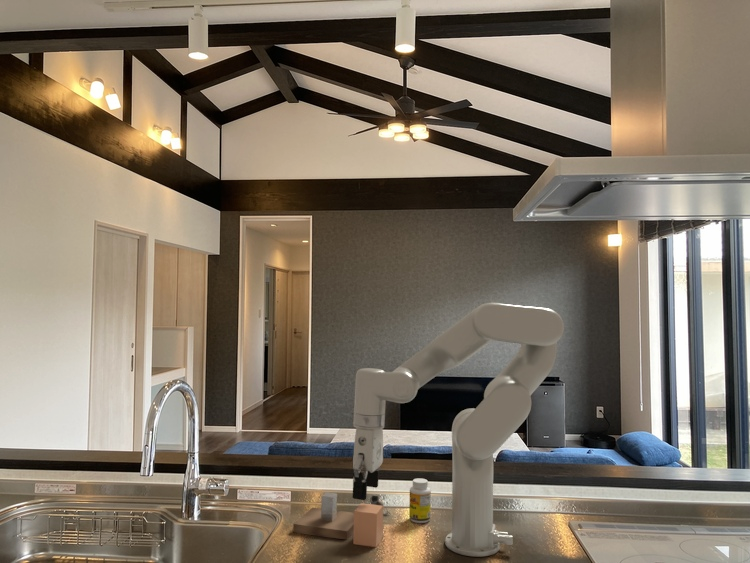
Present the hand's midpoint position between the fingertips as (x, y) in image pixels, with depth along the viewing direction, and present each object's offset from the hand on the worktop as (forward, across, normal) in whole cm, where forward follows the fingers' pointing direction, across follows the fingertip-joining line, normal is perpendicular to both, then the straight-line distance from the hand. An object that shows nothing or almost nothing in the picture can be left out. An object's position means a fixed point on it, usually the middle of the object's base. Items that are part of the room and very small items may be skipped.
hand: (365, 492), depth 132 cm
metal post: (+10, +5, +11) cm, 15 cm away
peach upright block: (+11, 0, -1) cm, 11 cm away
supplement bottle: (+11, +17, -10) cm, 23 cm away
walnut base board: (+12, +5, +11) cm, 17 cm away
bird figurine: (+12, +16, +1) cm, 20 cm away
